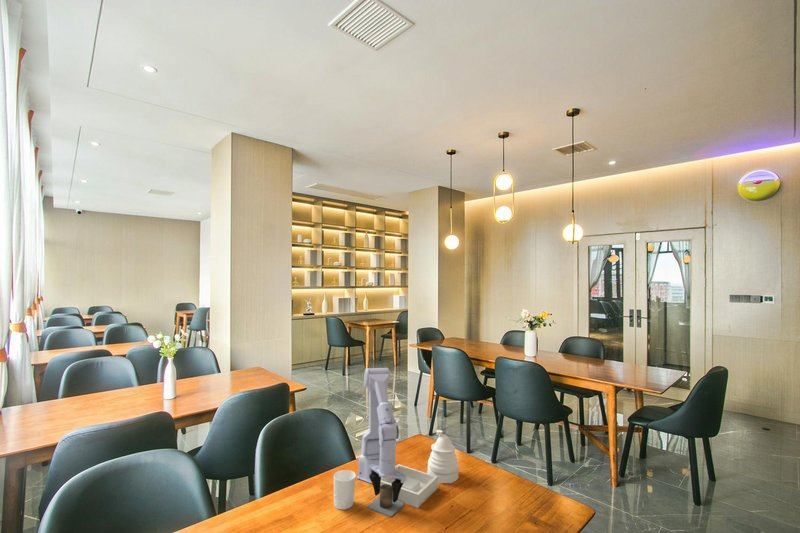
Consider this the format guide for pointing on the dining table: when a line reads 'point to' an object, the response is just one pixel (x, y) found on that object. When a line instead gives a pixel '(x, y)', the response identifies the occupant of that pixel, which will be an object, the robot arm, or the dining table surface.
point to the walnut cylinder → (386, 496)
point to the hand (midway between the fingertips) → (386, 497)
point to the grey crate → (414, 485)
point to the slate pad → (388, 512)
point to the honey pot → (443, 460)
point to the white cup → (344, 489)
